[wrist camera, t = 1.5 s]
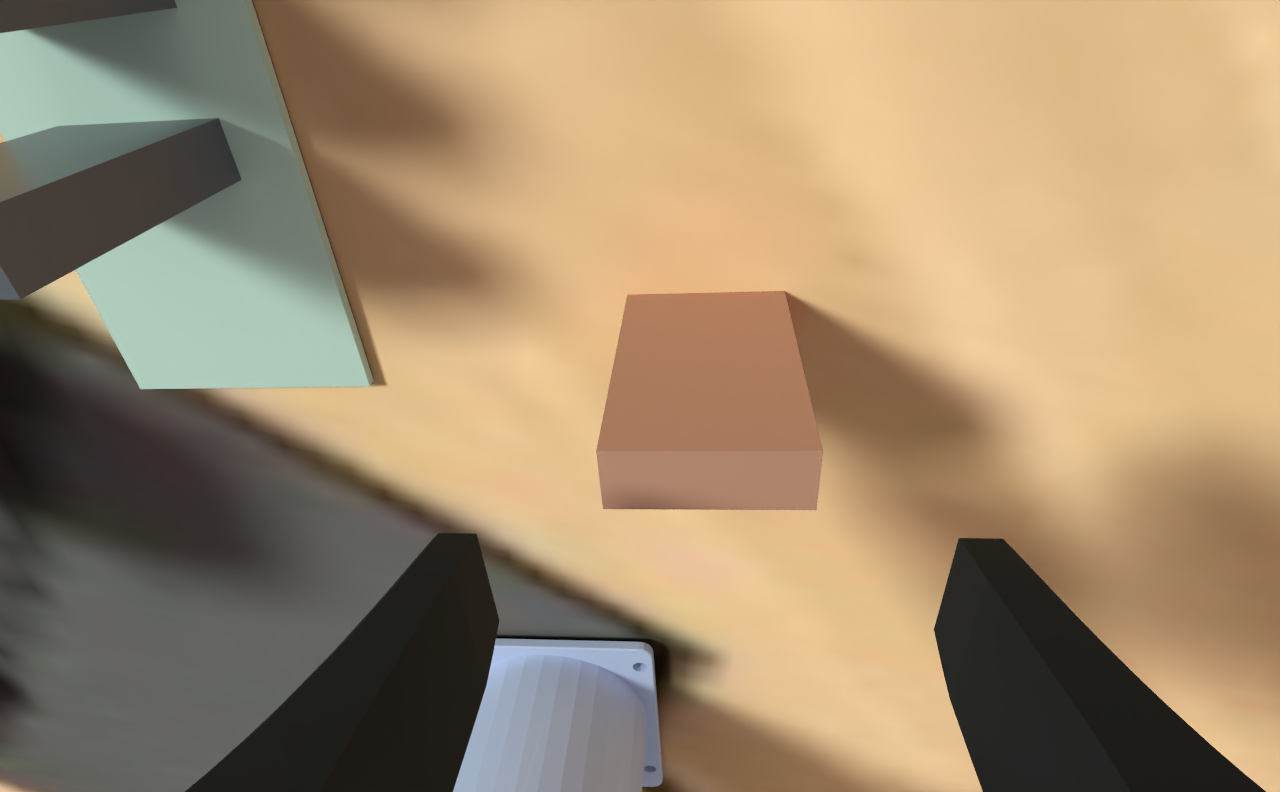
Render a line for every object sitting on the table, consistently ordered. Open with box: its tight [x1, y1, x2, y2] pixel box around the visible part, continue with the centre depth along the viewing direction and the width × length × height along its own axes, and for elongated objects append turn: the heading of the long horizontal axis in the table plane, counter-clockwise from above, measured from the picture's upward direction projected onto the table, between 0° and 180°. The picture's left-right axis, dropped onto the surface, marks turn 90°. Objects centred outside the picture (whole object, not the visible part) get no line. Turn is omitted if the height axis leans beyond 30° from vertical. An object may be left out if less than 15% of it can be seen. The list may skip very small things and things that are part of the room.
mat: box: [0, 0, 374, 389], centre depth 15 cm, size 19×7×1 cm, turn 3°
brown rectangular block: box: [596, 291, 823, 510], centre depth 15 cm, size 1×4×6 cm, turn 94°
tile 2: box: [0, 118, 242, 300], centre depth 14 cm, size 1×4×6 cm, turn 93°
